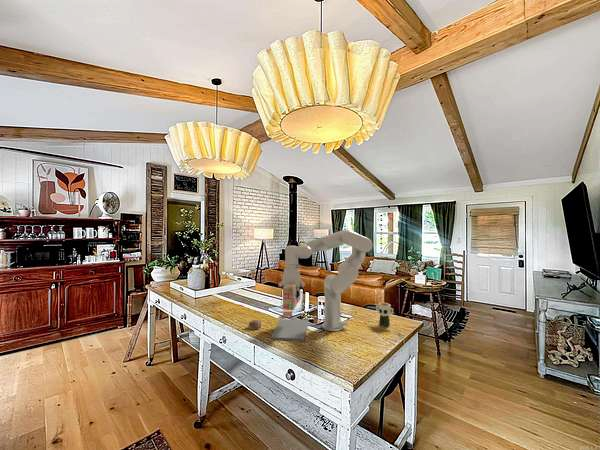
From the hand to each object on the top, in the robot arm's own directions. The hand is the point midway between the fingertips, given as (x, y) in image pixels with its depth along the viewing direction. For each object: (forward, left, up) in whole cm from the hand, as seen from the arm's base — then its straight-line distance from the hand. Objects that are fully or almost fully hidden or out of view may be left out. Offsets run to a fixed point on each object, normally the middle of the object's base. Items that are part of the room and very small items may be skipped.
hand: (291, 296), depth 154 cm
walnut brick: (+22, 0, -20) cm, 30 cm away
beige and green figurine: (-56, -15, -20) cm, 61 cm away
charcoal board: (0, 0, -19) cm, 19 cm away
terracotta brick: (+6, -23, -20) cm, 31 cm away
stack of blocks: (0, -1, -5) cm, 5 cm away
